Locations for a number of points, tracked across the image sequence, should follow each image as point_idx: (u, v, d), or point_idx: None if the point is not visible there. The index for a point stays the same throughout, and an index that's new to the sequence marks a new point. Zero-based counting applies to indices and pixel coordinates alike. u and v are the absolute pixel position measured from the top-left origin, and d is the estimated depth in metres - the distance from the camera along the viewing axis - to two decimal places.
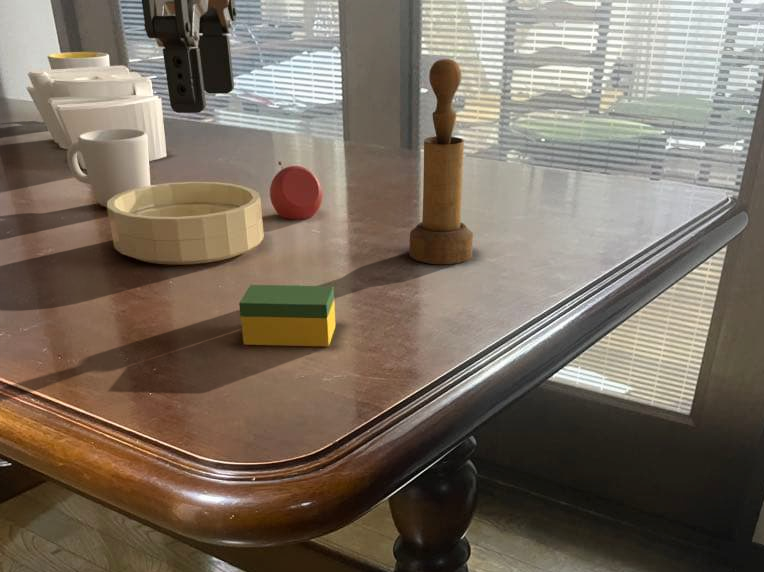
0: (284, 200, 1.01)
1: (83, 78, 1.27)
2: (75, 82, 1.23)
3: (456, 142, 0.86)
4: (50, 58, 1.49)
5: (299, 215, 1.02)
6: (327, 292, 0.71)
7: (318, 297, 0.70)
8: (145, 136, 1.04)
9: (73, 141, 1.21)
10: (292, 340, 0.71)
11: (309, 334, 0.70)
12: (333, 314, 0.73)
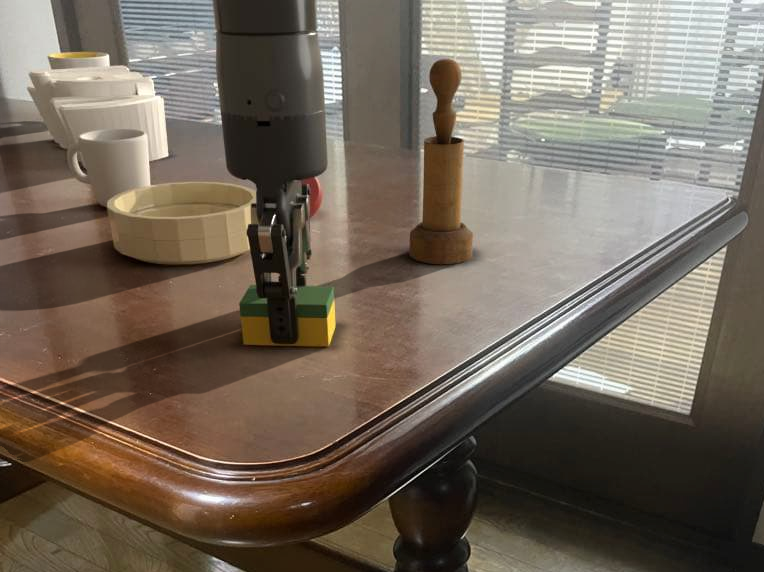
0: None
1: (85, 78, 1.27)
2: (77, 82, 1.23)
3: (456, 142, 0.86)
4: (50, 58, 1.49)
5: None
6: (327, 292, 0.71)
7: (318, 297, 0.70)
8: (145, 136, 1.04)
9: (76, 141, 1.21)
10: None
11: (309, 334, 0.70)
12: (333, 314, 0.73)
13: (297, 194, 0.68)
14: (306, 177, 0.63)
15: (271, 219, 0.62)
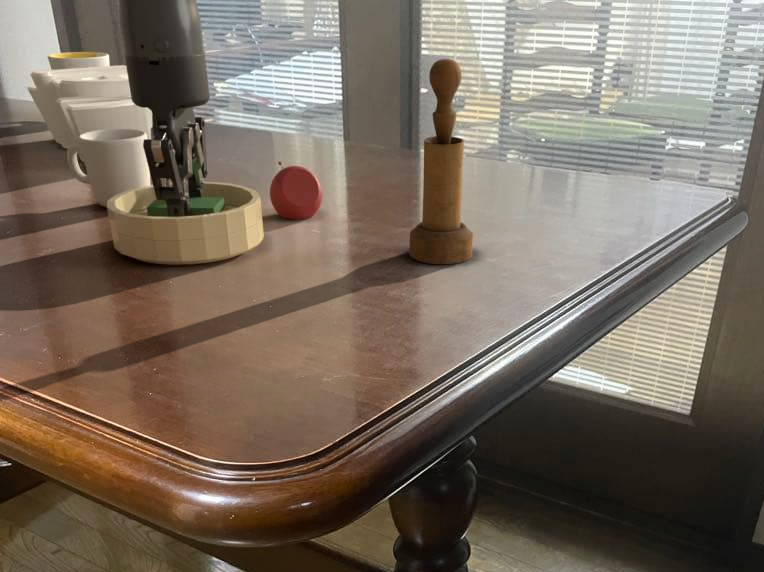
0: (284, 200, 1.01)
1: (89, 78, 1.27)
2: (83, 82, 1.24)
3: (456, 142, 0.86)
4: (50, 58, 1.49)
5: (299, 215, 1.02)
6: (217, 201, 0.92)
7: (209, 204, 0.91)
8: (145, 136, 1.04)
9: None
10: None
11: None
12: None
13: (189, 122, 0.88)
14: (190, 105, 0.84)
15: (162, 136, 0.83)
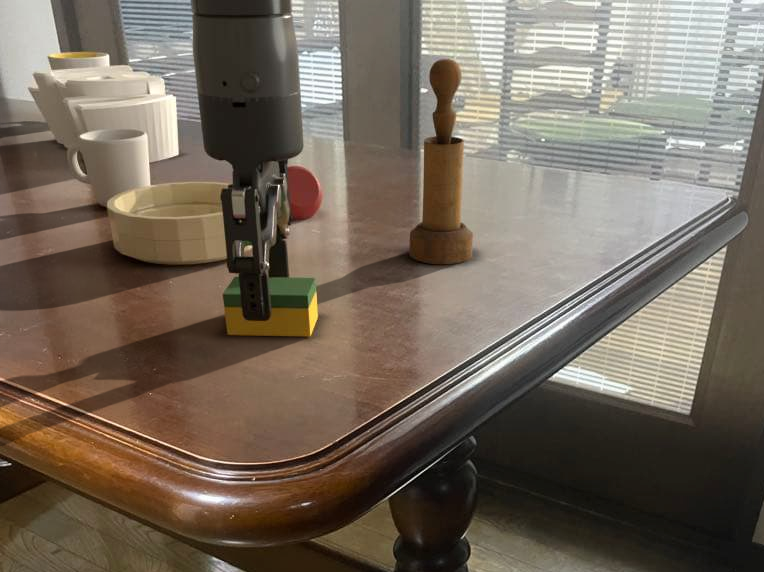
0: None
1: (94, 78, 1.27)
2: (89, 82, 1.24)
3: (456, 142, 0.86)
4: (50, 58, 1.49)
5: (299, 215, 1.02)
6: (309, 283, 0.73)
7: (300, 288, 0.72)
8: (145, 136, 1.04)
9: None
10: (275, 330, 0.73)
11: (291, 324, 0.72)
12: (315, 305, 0.75)
13: (274, 176, 0.69)
14: (281, 158, 0.65)
15: (246, 188, 0.63)
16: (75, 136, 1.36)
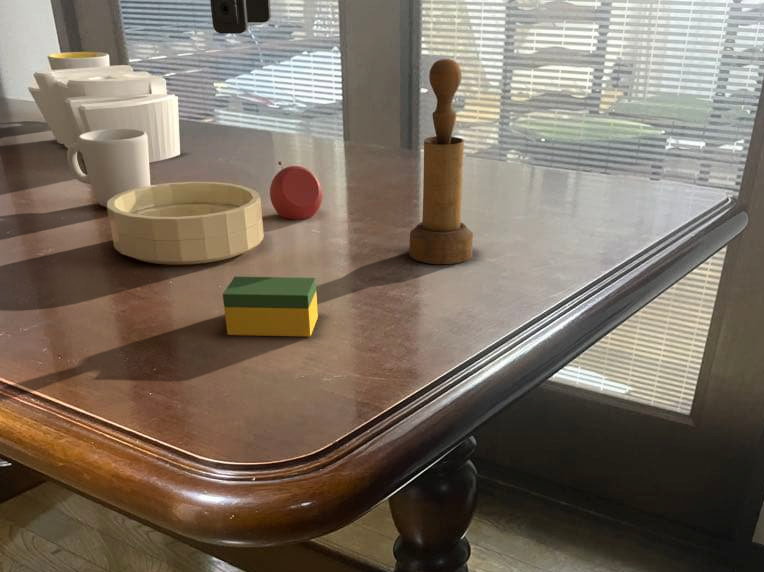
0: (284, 200, 1.01)
1: (96, 78, 1.27)
2: (91, 82, 1.24)
3: (456, 142, 0.86)
4: (50, 58, 1.49)
5: (299, 215, 1.02)
6: (309, 283, 0.73)
7: (300, 288, 0.72)
8: (145, 136, 1.04)
9: None
10: (275, 330, 0.73)
11: (291, 324, 0.72)
12: (315, 305, 0.75)
13: None
14: None
15: None
16: (76, 136, 1.36)
